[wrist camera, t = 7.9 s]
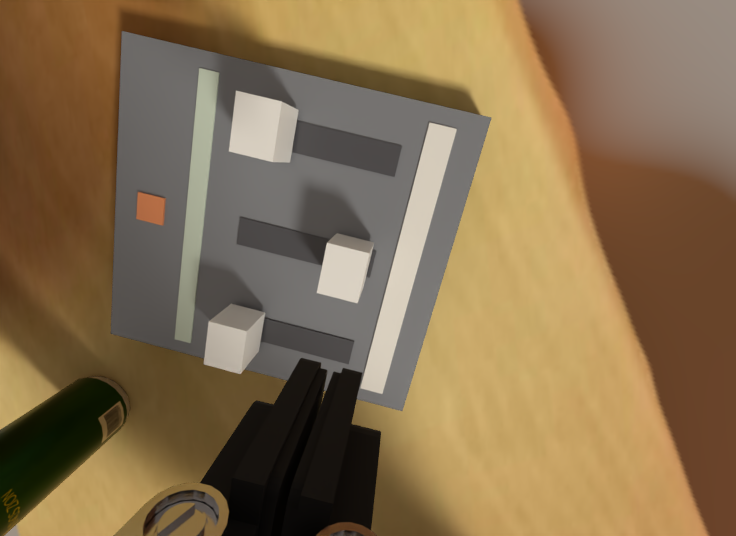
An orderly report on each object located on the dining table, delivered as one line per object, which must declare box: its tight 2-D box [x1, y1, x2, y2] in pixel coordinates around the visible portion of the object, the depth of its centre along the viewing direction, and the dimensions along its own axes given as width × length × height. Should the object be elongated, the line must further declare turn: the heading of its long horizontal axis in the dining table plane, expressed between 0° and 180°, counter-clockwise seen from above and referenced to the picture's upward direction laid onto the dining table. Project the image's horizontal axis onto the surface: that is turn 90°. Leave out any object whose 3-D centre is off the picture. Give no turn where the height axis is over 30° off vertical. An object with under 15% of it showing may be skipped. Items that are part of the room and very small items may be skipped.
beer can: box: [0, 376, 130, 536], centre depth 26 cm, size 5×5×12 cm
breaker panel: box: [111, 31, 491, 411], centre depth 24 cm, size 22×20×5 cm
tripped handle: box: [317, 233, 374, 303], centre depth 22 cm, size 2×3×3 cm
